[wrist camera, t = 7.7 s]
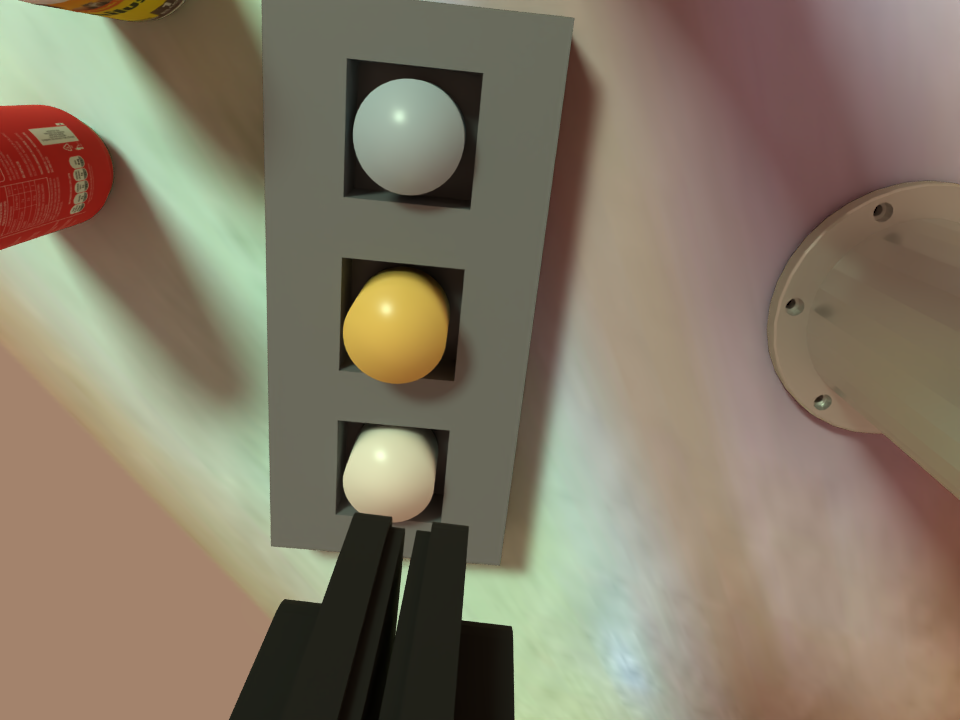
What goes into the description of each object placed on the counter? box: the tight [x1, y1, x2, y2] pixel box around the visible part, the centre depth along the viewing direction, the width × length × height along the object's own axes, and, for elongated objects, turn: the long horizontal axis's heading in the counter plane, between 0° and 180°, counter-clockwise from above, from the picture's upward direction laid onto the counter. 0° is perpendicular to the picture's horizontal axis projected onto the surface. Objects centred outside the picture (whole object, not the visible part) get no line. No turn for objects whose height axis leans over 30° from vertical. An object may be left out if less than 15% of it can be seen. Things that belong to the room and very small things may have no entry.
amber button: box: [343, 267, 450, 384], centre depth 31 cm, size 4×4×3 cm
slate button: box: [353, 79, 466, 195], centre depth 28 cm, size 4×4×3 cm
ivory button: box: [343, 423, 438, 523], centre depth 34 cm, size 4×4×3 cm
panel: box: [262, 0, 574, 565], centre depth 32 cm, size 12×26×3 cm, turn 174°
